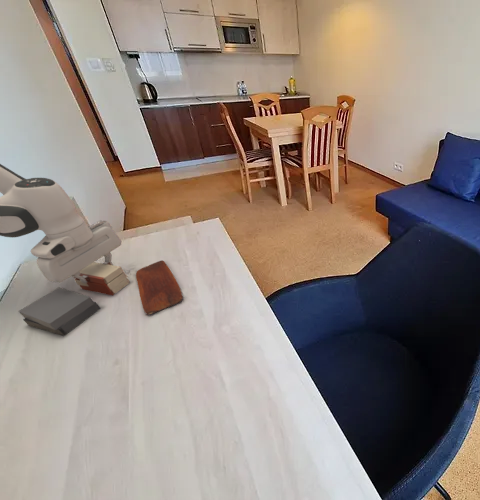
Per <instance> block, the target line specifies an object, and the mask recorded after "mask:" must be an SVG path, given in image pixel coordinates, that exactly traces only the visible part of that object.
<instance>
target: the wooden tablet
mask: <svg viewBox="0 0 480 500" xmlns="http://www.w3.org/2000/svg"><path fill="white" fill-rule="evenodd" d="M135 280H136V283H137V287H138V293H139V298H140V302H141V306H142V309H143V311H144V313H145V314H146V315H148V316H149V315H153V314H155V313H158V312H160V311H162V310H164V309H167V308H170V307H172V306H174V305H175V306H176V304H179V303H180V302H181V301H183V299H184V298H183V293H182V289H181V287H180V285H179V283H178V281H177V279H176V277H175V275H174V274H173V272H172V271H171V269H170V267H169V265H167V263H166V262H165V261H164V260H158V261H156V262H153V263H151V264H149V265H147V266H144V267H142V268H140V269H138V270H137V271H136V272H135Z"/></svg>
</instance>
